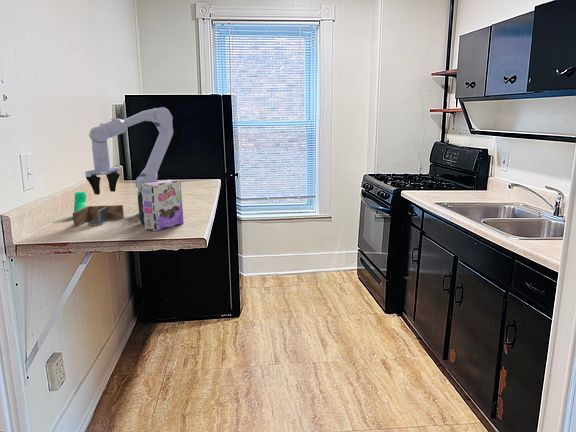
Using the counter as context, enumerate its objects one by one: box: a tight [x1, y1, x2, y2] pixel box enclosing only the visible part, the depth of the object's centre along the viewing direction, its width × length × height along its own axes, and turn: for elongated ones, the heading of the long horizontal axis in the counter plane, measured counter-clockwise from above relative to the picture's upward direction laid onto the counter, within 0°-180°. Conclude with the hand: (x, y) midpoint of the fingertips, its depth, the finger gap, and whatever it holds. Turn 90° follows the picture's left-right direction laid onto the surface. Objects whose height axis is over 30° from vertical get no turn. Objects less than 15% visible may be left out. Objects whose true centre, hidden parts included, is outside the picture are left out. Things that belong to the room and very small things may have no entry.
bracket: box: [87, 207, 110, 226], centre depth 171 cm, size 8×5×5 cm, turn 4°
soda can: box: [137, 191, 144, 226], centre depth 167 cm, size 7×7×12 cm
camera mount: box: [73, 191, 87, 213], centre depth 184 cm, size 12×8×10 cm, turn 10°
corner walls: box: [72, 204, 125, 228], centre depth 172 cm, size 14×14×5 cm
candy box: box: [141, 179, 184, 232], centre depth 160 cm, size 14×6×16 cm, turn 148°
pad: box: [87, 219, 111, 226], centre depth 172 cm, size 9×5×1 cm, turn 4°
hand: (105, 192), depth 176 cm, fingers open, 7 cm apart
